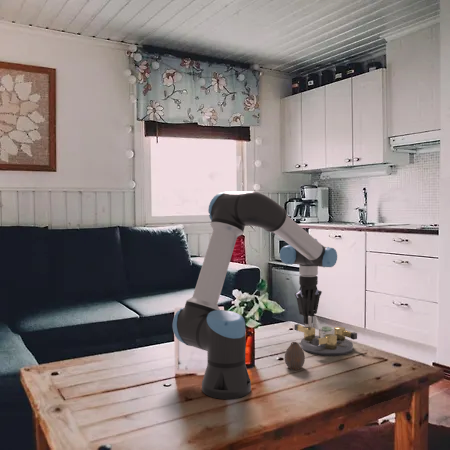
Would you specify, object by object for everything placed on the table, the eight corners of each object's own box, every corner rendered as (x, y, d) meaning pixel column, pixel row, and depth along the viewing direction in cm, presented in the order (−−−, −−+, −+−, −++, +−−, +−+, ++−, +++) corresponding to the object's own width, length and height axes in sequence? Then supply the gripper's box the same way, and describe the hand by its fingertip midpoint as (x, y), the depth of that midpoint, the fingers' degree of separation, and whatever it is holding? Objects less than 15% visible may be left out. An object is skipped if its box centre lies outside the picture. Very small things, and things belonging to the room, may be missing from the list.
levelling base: (363, 350, 183) (364, 329, 183) (325, 359, 173) (325, 337, 172) (327, 337, 200) (328, 318, 200) (290, 345, 190) (290, 325, 190)
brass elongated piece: (331, 338, 191) (331, 327, 190) (339, 337, 193) (339, 326, 193) (351, 345, 182) (351, 333, 181) (359, 343, 184) (359, 332, 184)
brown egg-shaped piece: (283, 370, 162) (283, 344, 162) (286, 363, 169) (286, 339, 168) (303, 372, 160) (303, 346, 160) (305, 365, 167) (306, 340, 166)
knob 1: (317, 339, 189) (317, 328, 189) (309, 341, 187) (309, 330, 187) (300, 333, 198) (300, 323, 198) (292, 335, 196) (292, 324, 196)
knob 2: (331, 344, 182) (331, 333, 182) (339, 347, 179) (339, 336, 178) (309, 349, 177) (310, 337, 177) (317, 352, 173) (318, 340, 173)
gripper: (314, 272, 203) (314, 327, 204) (290, 275, 197) (290, 331, 198) (326, 275, 197) (326, 331, 198) (302, 277, 190) (301, 335, 191)
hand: (308, 331), depth 198 cm, fingers closed
